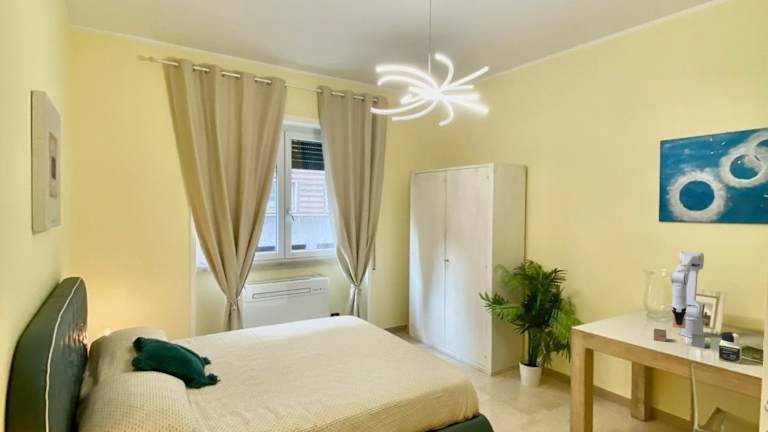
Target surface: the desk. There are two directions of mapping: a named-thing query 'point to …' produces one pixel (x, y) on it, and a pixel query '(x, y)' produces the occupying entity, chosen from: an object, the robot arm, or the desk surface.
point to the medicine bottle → (730, 348)
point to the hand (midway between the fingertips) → (679, 323)
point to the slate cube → (698, 341)
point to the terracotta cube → (679, 325)
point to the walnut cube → (660, 335)
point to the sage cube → (715, 343)
